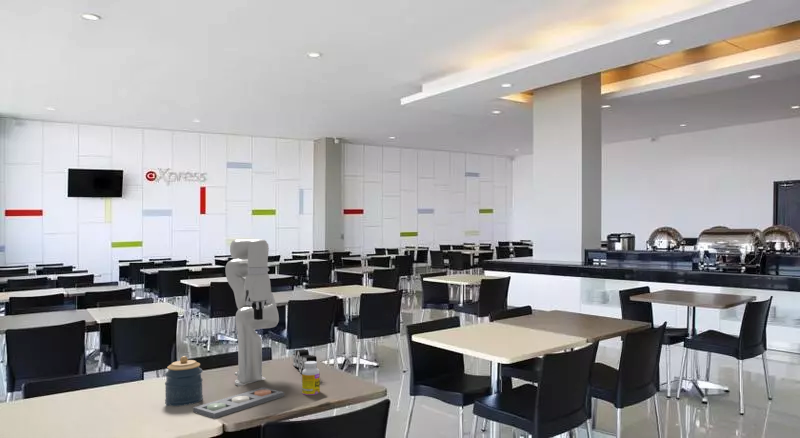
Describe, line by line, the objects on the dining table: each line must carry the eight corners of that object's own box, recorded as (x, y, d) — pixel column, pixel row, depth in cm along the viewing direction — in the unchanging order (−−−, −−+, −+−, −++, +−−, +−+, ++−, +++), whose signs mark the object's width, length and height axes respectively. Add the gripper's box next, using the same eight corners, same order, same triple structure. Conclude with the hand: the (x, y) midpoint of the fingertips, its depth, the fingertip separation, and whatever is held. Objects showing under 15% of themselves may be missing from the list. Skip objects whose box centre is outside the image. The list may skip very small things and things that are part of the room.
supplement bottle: (316, 399, 209) (315, 364, 209) (299, 398, 210) (299, 364, 210) (322, 394, 215) (321, 360, 216) (306, 393, 217) (305, 360, 217)
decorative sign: (317, 375, 236) (316, 351, 238) (307, 376, 234) (306, 352, 236) (302, 369, 265) (301, 348, 267) (293, 370, 264) (292, 349, 265)
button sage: (203, 415, 191) (203, 406, 191) (218, 410, 196) (218, 401, 196) (214, 418, 188) (214, 409, 188) (229, 413, 193) (229, 404, 193)
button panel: (214, 422, 184) (214, 413, 184) (193, 416, 192) (193, 407, 192) (284, 400, 208) (284, 392, 208) (263, 395, 216) (262, 387, 216)
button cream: (228, 407, 199) (228, 399, 199) (242, 403, 204) (242, 394, 204) (238, 410, 196) (238, 401, 196) (252, 406, 201) (252, 397, 201)
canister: (210, 400, 209) (210, 353, 210) (186, 411, 197) (186, 361, 198) (182, 398, 214) (181, 351, 214) (157, 408, 201) (156, 359, 202)
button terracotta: (251, 400, 207) (251, 392, 207) (264, 396, 212) (263, 388, 212) (261, 403, 204) (261, 394, 204) (274, 399, 209) (274, 391, 209)
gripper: (266, 270, 225) (267, 316, 224) (235, 272, 213) (236, 321, 212) (279, 270, 220) (279, 317, 220) (248, 273, 208) (248, 322, 208)
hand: (258, 319), depth 216 cm, fingers closed
